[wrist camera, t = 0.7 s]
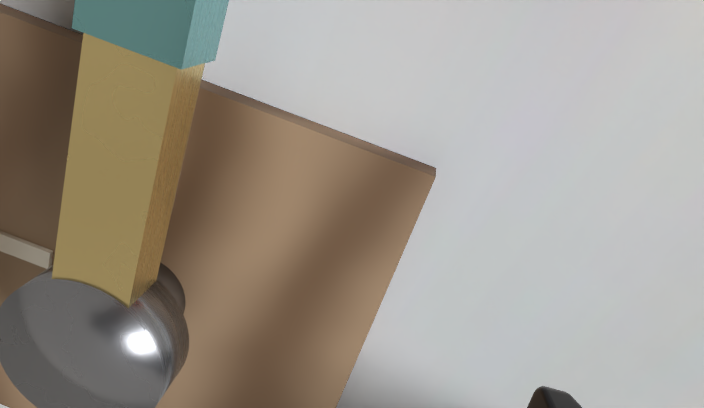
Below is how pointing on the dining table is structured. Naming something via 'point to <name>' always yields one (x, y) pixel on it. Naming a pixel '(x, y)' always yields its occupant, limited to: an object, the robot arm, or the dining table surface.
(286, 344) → the base
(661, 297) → the dining table surface
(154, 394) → the metal scoop
